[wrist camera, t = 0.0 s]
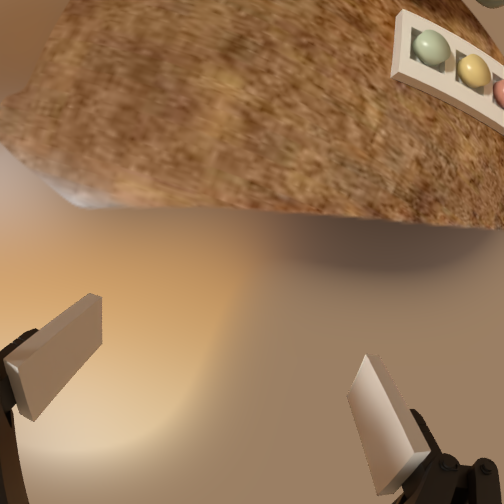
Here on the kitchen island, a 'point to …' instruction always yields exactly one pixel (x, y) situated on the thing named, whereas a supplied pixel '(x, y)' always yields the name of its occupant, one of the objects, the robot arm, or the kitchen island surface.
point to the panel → (445, 71)
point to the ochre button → (473, 71)
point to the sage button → (431, 48)
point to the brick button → (499, 92)
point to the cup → (491, 3)
